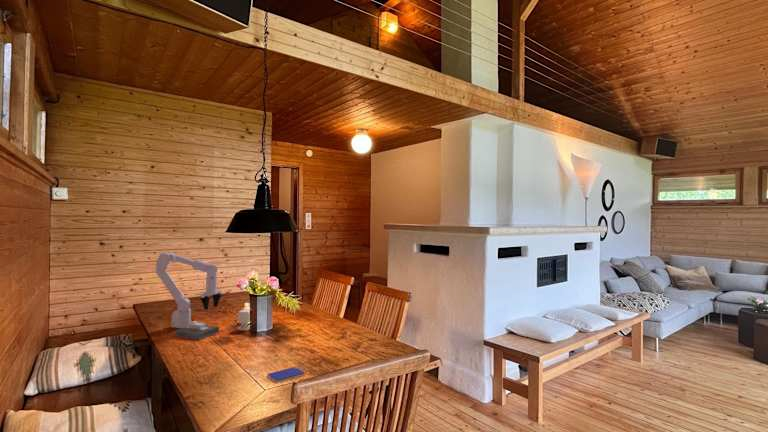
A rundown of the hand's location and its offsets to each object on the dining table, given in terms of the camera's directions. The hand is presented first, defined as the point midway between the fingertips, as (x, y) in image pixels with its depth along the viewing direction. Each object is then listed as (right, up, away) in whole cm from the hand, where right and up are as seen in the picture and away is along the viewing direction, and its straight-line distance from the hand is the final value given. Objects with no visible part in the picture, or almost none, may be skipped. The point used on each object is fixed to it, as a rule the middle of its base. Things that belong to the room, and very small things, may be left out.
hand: (210, 307), depth 230 cm
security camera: (+23, -10, -8) cm, 26 cm away
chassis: (+2, -9, -20) cm, 22 cm away
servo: (+2, -9, -20) cm, 22 cm away
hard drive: (+62, -12, -71) cm, 95 cm away
